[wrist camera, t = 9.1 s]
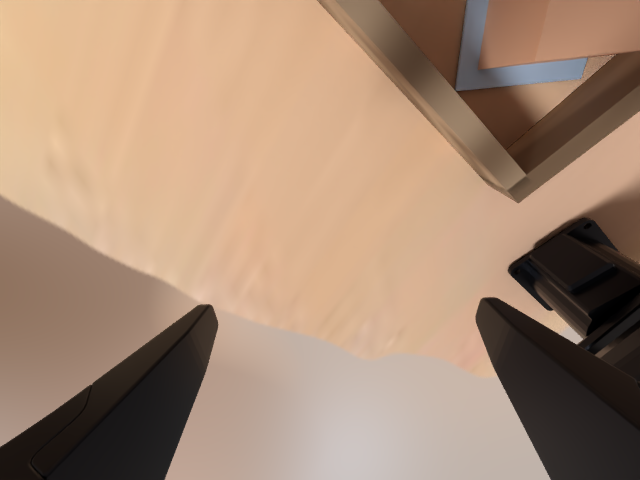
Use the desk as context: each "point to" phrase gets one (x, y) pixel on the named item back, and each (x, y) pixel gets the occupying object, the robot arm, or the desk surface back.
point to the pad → (502, 76)
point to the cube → (557, 30)
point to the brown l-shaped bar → (466, 128)
